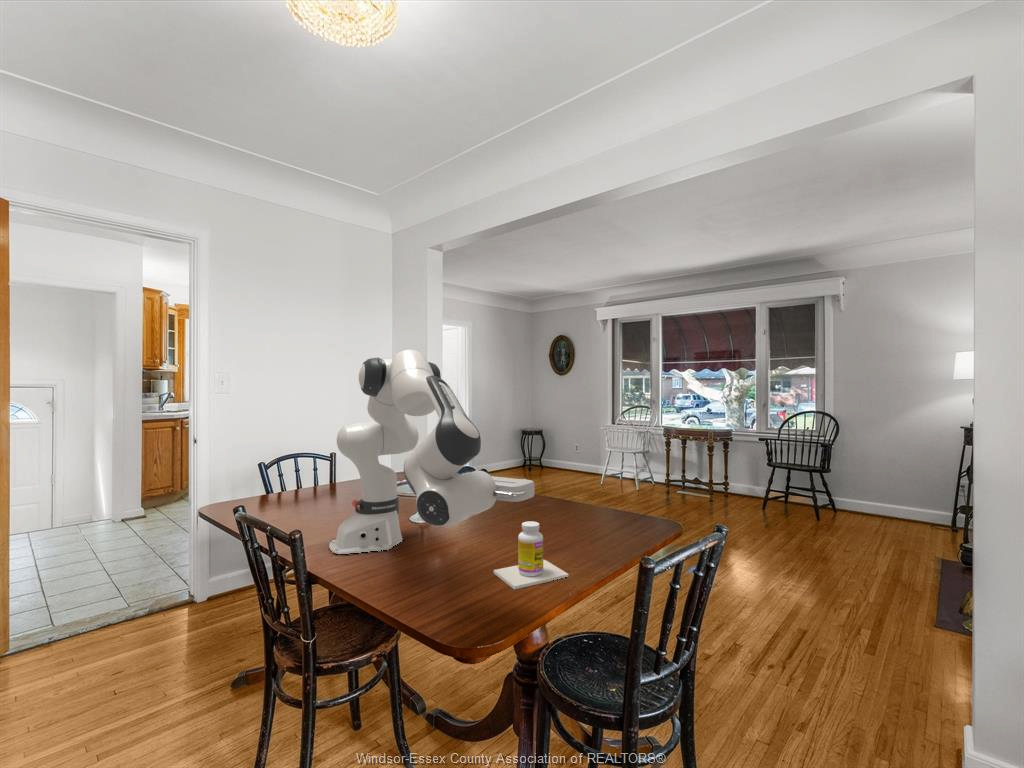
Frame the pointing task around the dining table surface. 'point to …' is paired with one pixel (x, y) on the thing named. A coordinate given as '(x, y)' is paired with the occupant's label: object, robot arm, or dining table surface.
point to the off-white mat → (521, 581)
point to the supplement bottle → (530, 549)
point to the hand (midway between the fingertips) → (507, 480)
